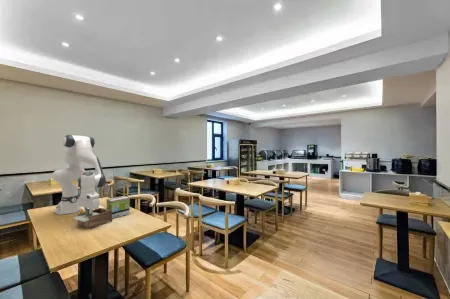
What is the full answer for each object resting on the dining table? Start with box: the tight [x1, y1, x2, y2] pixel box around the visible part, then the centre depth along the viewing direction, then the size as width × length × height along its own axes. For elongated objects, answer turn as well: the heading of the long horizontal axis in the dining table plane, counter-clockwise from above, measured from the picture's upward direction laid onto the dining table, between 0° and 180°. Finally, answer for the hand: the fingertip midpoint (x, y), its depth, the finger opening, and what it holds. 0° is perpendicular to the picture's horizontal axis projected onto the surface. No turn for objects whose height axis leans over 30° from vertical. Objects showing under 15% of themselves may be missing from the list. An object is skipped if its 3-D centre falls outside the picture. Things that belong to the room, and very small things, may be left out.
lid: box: [73, 208, 99, 222], centre depth 148 cm, size 13×13×6 cm
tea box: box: [105, 195, 131, 220], centre depth 169 cm, size 15×10×15 cm, turn 143°
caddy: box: [77, 207, 113, 230], centre depth 152 cm, size 15×16×8 cm
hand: (88, 213), depth 148 cm, fingers closed on lid, 3 cm apart
